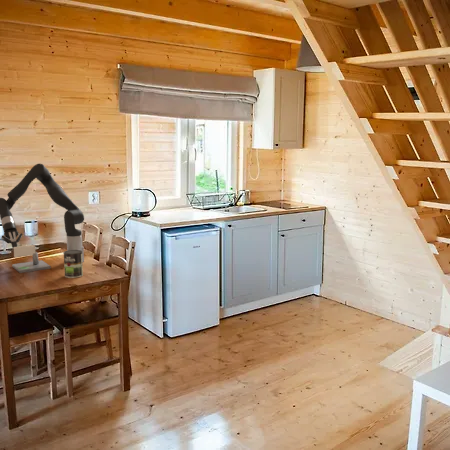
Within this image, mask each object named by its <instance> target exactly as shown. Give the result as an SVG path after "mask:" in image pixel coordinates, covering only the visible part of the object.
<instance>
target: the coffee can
mask: <svg viewBox="0 0 450 450" xmlns="http://www.w3.org/2000/svg"><path fill="white" fill-rule="evenodd" d="M63 262H64V263H63V265H64V269H63V270H64V277H65V278H67V279H68V278H69V279H76V278H81V277H83V276H84V269H83V262H82V251H81V250H68V251H67V250H65V251H63Z"/></svg>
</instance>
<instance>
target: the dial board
mask: <svg viewBox="0 0 450 450" xmlns="http://www.w3.org/2000/svg"><path fill="white" fill-rule="evenodd" d="M38 262H39V264H33V261H28V262H27V261H26V262H19V263H14V264H11V268H13V269H14V270H16V272H18V273H19V274H22V273H23V274H24V273H30V272H34V271H36V272H37V271H44V270H50V269H51V268H52V267H51V265H50V264H48V263H47V262H46V261H44V260H42V259H40V260H38Z"/></svg>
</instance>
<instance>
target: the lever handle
mask: <svg viewBox="0 0 450 450" xmlns="http://www.w3.org/2000/svg"><path fill="white" fill-rule="evenodd" d="M30 256H32V262H33V264H39V262H38V261H39V252H37V251H36V245H35V244H31V245H22V246H17V247H14V248H13V257H14V258H21V257H22V258H23V257H30Z"/></svg>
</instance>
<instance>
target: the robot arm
mask: <svg viewBox="0 0 450 450" xmlns="http://www.w3.org/2000/svg"><path fill="white" fill-rule="evenodd" d="M35 179H37V180H38V181H39V182H40V184H42V185H43V186H44V188H45V189H46V191H47V195H49V197H50V199H51V200H52V201H53V203H54V204H56V205H58V206H59V207H62V208H63V209H65V210H66V211H65V212H64V215H63V220H64V230H65V233H66V234H65V235H66V248H67V249H66V251H68V250H81V251H82V263H84V262H85V254H84V252H85V250H84V246H83V235H82V230H81V229H77V228H76V225H80V224H82V223H83V222H84V221H85V216H84V213H83V211H82V210H81V209H80V208H79V206H78V205H77V204H75V203H74V201H72V199H71V198H70V196H68V194H67V193H66V191H65V190H64V189H63V188H62V187H61V185H60V184H59V183H57V182H56V181H55V179H54V177H53V176H52V174H51V172H50V171H49V169H48V168H47V167H46V166H45V165H44V164H43V163H37V164H35V165H33V167H32V168H30V169H29V171H28V172H27V173H26V175H24V176H23V178H22V179H21V180H20V181H19V183H18V184H16V186H14V187H13V188H12V189H11V190H10V191H8V193H7V197H8V198H7V199H5V198H4V197H0V220H1V227H2V229H3V234H2V235H1V240H2V241H3V242H5V243H7V244H11V248H12V249H14V247H18V243H19V242H20V241H21V239H22V237H23V233H22V232H21V233H19V231H18V228H17V226H16V222H15V220H14V217H13V212H11V209H12V208H13V207H14V205H15V204H16V202H17V201H18V200H19V199H20V198H21V197H23V196H24V195H25V193H26V192H27V190H28V188H29V186H30V185H31V183H32V182H33V181H34V180H35Z"/></svg>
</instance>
